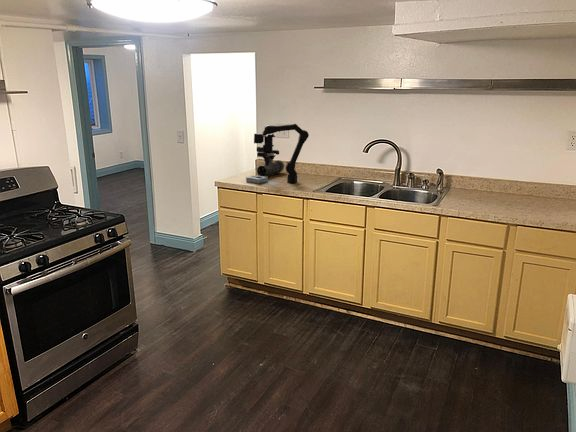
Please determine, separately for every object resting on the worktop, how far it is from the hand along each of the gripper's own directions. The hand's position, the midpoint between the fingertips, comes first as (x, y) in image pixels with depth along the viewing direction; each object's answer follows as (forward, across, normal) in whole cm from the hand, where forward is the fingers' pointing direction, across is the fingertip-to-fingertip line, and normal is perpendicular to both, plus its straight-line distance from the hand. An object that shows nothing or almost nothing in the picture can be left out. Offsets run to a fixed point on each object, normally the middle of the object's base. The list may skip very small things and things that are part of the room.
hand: (268, 165), depth 337 cm
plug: (+2, 0, 0) cm, 2 cm away
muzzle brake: (+14, -26, -16) cm, 34 cm away
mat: (+13, -1, +3) cm, 14 cm away
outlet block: (+13, +2, -9) cm, 16 cm away
